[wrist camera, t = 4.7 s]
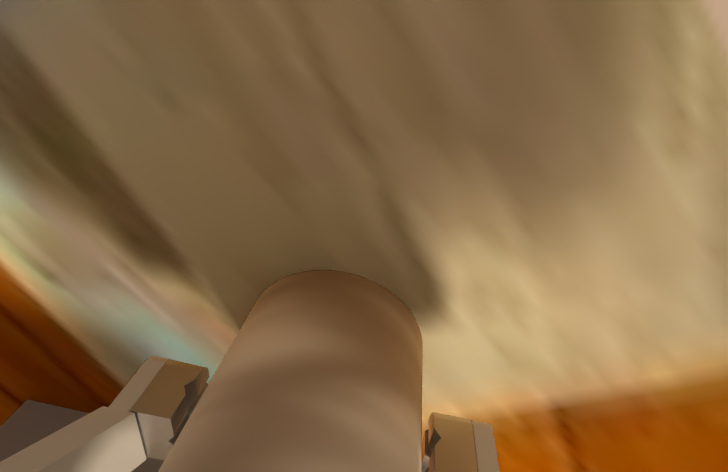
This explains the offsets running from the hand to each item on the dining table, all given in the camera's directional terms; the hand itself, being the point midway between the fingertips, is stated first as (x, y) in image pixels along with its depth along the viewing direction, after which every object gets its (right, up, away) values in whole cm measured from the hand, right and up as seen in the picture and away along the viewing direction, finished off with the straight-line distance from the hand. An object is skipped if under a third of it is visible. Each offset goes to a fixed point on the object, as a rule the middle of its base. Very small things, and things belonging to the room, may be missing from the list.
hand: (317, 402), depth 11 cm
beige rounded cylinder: (0, +1, +2) cm, 2 cm away
